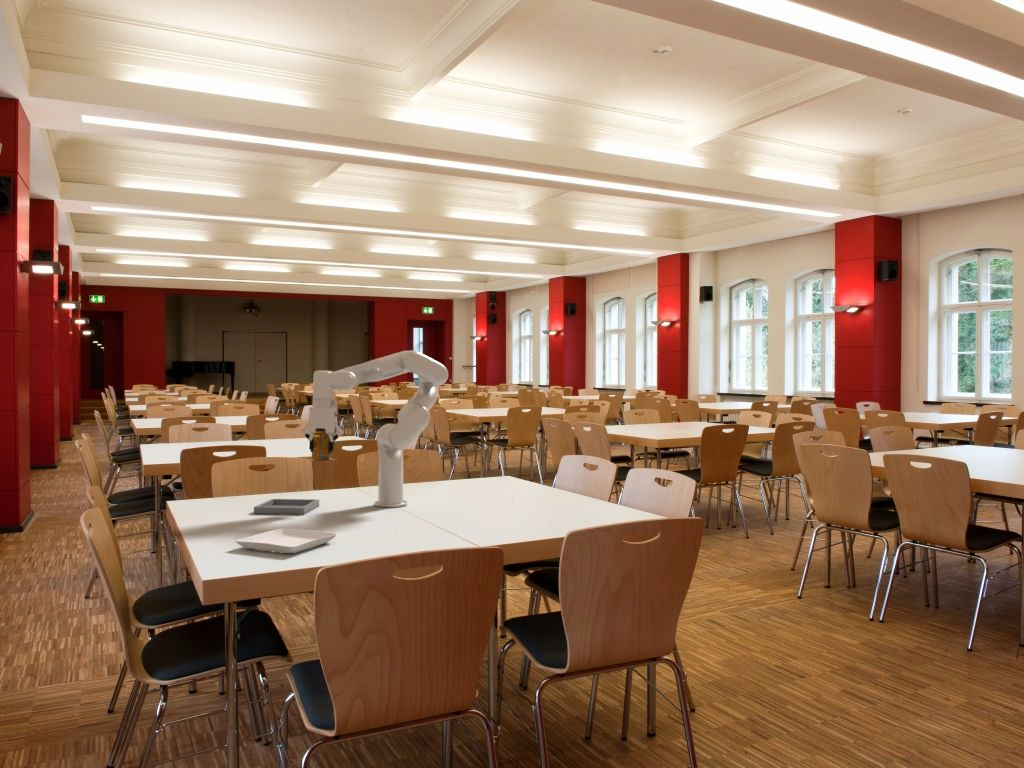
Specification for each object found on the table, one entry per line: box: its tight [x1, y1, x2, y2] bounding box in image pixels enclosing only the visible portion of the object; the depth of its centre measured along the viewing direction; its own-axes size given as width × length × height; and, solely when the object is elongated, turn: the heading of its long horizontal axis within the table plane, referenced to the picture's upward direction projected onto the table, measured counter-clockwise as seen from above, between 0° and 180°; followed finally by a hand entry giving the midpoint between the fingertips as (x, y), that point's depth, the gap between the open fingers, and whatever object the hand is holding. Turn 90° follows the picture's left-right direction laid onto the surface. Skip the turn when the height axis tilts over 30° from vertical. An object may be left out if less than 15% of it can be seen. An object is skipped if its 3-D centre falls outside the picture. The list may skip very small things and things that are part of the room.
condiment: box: [309, 428, 336, 462], centre depth 286 cm, size 7×8×12 cm
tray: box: [253, 498, 320, 516], centre depth 287 cm, size 18×18×2 cm
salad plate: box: [235, 527, 337, 554], centre depth 228 cm, size 21×21×3 cm
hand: (321, 451), depth 285 cm, fingers closed on condiment, 6 cm apart
